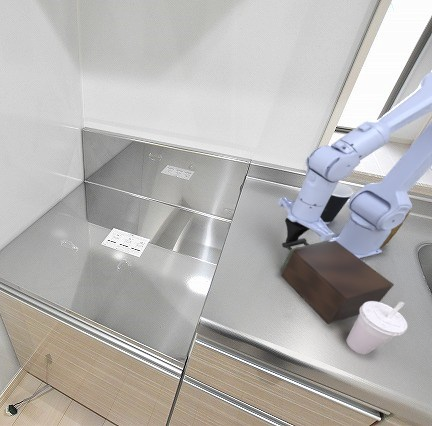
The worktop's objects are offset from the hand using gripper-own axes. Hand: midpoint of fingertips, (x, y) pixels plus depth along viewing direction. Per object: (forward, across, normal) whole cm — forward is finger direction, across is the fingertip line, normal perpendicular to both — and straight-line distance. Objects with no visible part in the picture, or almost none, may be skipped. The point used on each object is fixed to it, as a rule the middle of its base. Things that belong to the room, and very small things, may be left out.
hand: (290, 243), depth 74 cm
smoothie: (+4, +24, -4) cm, 25 cm away
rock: (+5, 0, +29) cm, 29 cm away
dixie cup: (+5, -10, +21) cm, 24 cm away
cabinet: (+4, +12, 0) cm, 13 cm away
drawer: (+3, +9, 0) cm, 9 cm away
